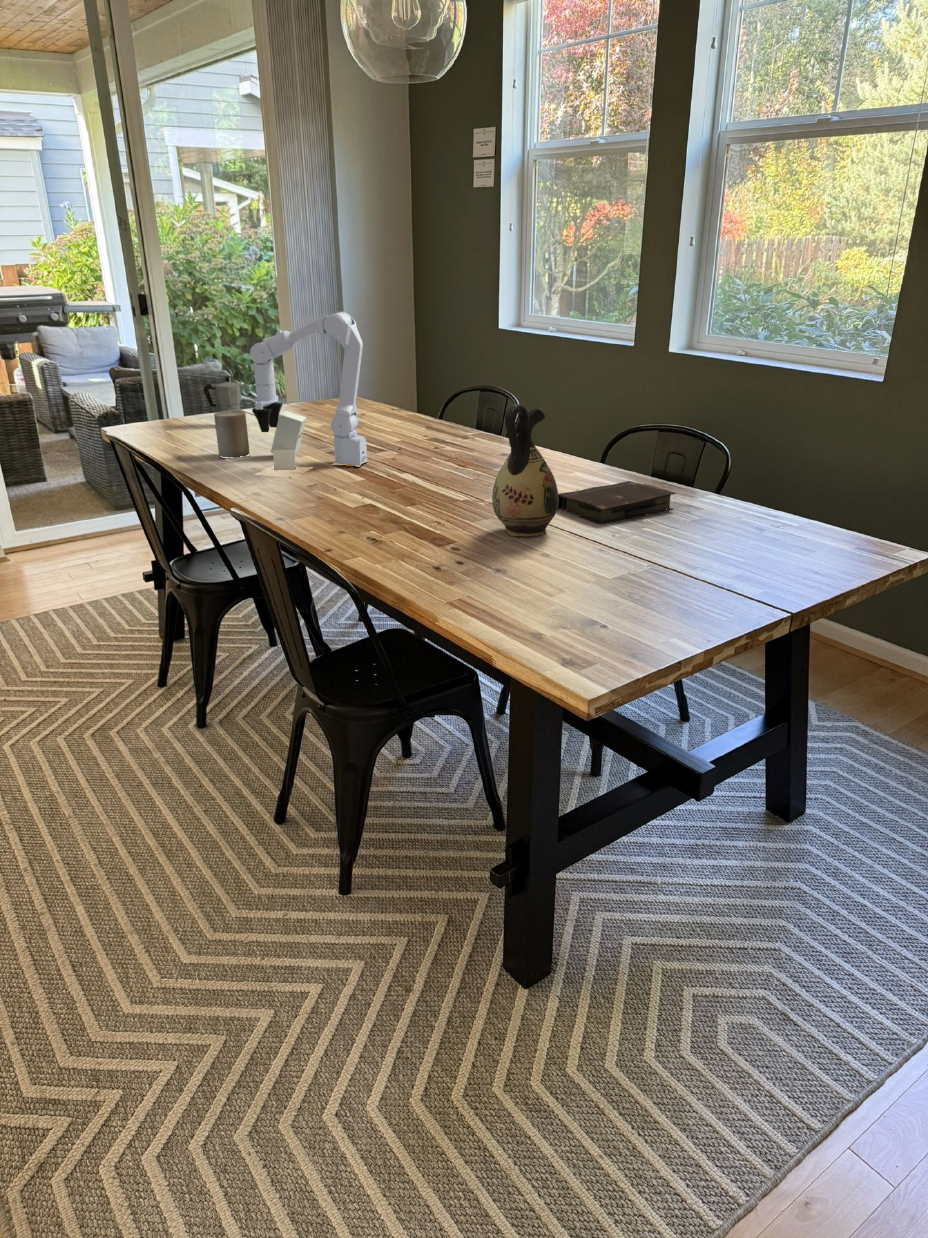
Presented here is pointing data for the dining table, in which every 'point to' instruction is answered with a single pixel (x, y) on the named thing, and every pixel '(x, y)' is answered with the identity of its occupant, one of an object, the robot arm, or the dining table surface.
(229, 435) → the pillar candle
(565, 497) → the diary
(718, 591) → the dining table surface
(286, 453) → the terracotta tile
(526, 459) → the ceramic jug
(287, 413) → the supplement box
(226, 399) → the coffeepot
